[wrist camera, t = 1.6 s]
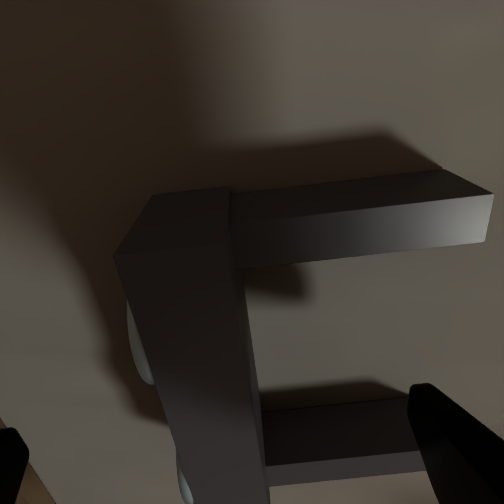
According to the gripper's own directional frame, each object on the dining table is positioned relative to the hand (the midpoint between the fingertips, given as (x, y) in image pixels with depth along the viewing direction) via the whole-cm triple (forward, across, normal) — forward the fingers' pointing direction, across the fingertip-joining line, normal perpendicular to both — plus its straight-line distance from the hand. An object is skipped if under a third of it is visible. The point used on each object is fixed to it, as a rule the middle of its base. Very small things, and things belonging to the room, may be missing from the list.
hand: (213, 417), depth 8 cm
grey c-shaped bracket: (+3, -2, 0) cm, 4 cm away
